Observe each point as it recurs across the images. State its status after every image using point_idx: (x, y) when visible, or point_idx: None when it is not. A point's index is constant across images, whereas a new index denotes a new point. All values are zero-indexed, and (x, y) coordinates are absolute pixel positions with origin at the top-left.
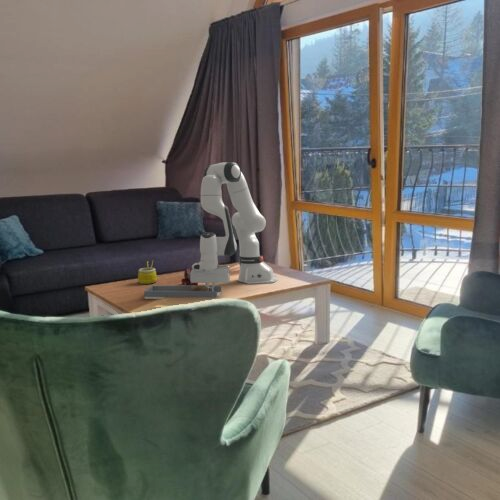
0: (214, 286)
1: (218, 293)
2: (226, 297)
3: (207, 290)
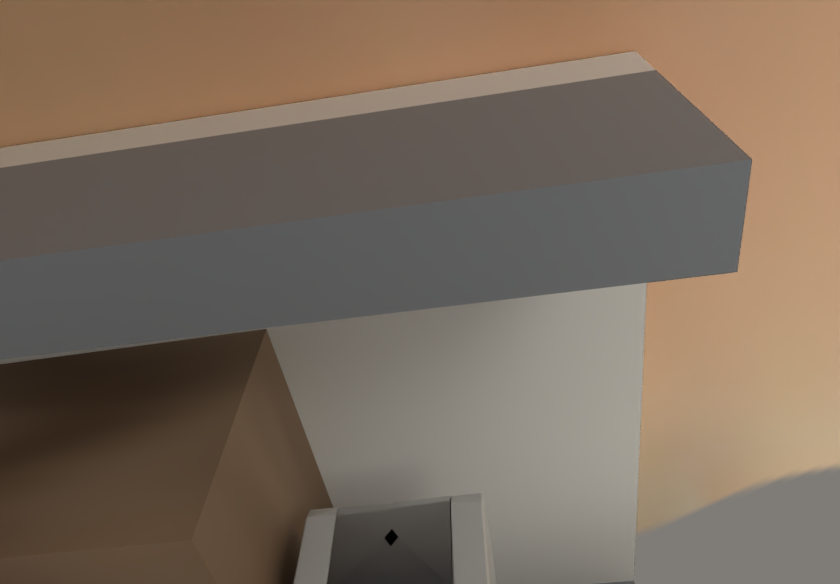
0: (408, 305)
1: (605, 355)
2: (834, 439)
3: (287, 519)
